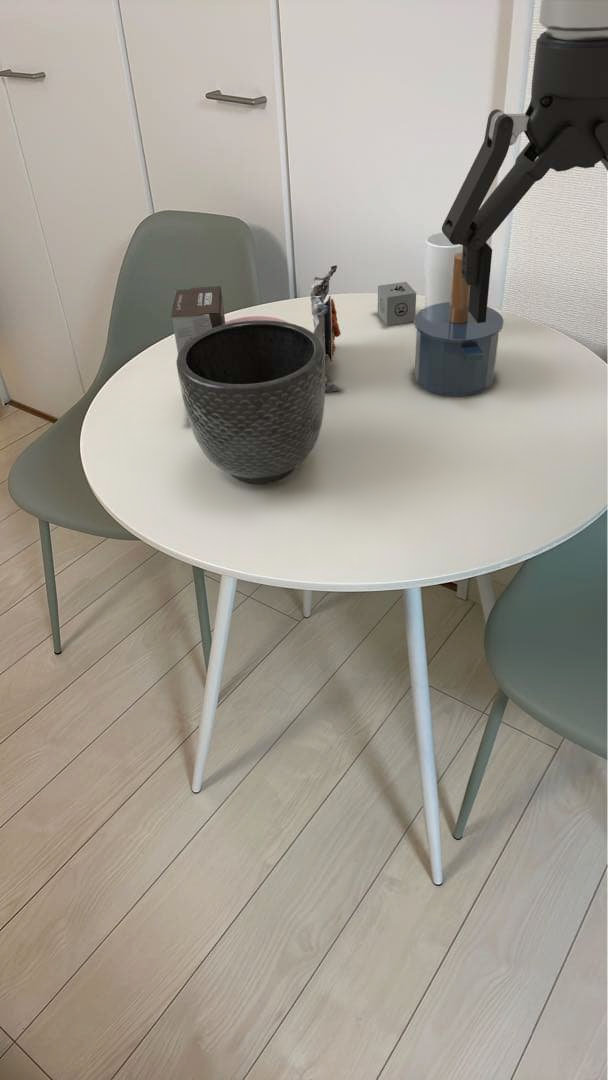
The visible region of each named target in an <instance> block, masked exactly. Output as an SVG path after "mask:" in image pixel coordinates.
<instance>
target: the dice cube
mask: <svg viewBox="0 0 608 1080" xmlns="http://www.w3.org/2000/svg"><path fill="white" fill-rule="evenodd" d="M416 309H417V292H416V291H415V290H414V289H413V287H412V286H411V285H410V284H409V283H408V282H407V281H402V282H395V283H387V284H380V285H377V315H378V317H379V318H380V320H381V321H382V322H383V323H384V325H385V327H390V326H398V325H403V324H408V323H414V318H415V316H416V312H417V311H416Z"/></svg>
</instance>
